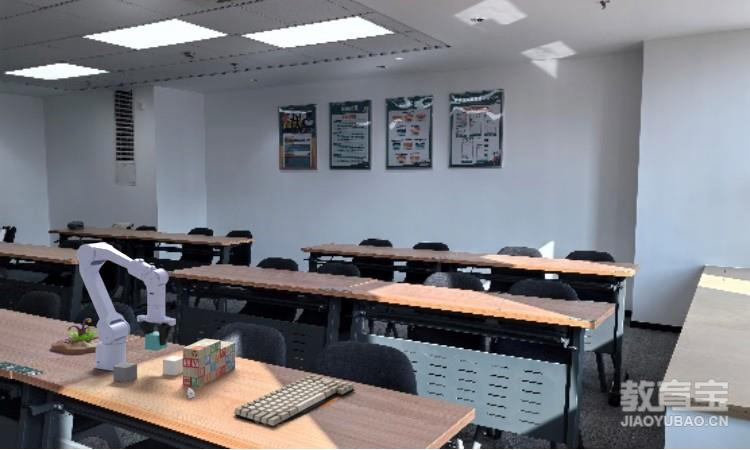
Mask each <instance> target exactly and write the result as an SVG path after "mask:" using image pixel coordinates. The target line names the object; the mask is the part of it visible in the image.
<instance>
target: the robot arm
mask: <svg viewBox="0 0 750 450" xmlns="http://www.w3.org/2000/svg"><path fill="white" fill-rule="evenodd" d="M75 257H76V259H77V262H78V265H79V266H78V267H79V270H78V271H79V274H80V277H81V279H82V281H83V283H84V286H85V288H86V290H87V292H88V294H89V297H90V300H91V301H92V304H93V307H94V309H95V311H96V313H97V315H98V318H99V319H98V321H97V323H96V328H97V336H98V337H99V339H100V341H101V342H99V343H98V344H97V346H96V352H95V365H94V366H93V369H99V370H105V371H113V372H114V366H115V365H118V364H121V363H123V362H127V356H126V354H127V352H126V351H127V350H126V348H127V345H126V344H127V343H126V342H127V338H128V336H129V335H130V333H131V326H130V324H129V323H128V322H127V321H126V320H125V318H124V316H123V315H122V314H121V313H118V312H117V311H116V308H115V307H114V304H113V302H112V300H111V298H110V295H109V293H108V290H107V288H106V286H105V283H104V281H103V279H102V277H101V275H100V272H99V271H100V269H101V267H102V266H103V265H104V264H105V262H106V261H107V260H109V261H111V263H114V264H117V265H118V266H121V267H124V268H126V269H127V272H128V274H129V275H132V276H133V277H135V278H136V279H139V280H141V281H143V284H144V285H145V286H146V292H147V294H146V295H147V296H146V297H147V299H146V300H147V303H146V304H147V306H146V307H147V308H146V309H147V314H146V315H145V314H140V315H137V316H136V321H137V322H139V323H140V322H141V323H140V324H139V327H140V329H141V331H142V333H143V335H144V336H145V335H146V334H149V333H152V332H154V330H155V324H159V325H157V327H156V328H157V332H159V337H160V346H162V345H165V344H166V341H167V342H168V336H169V334H170V332H171V330H172V329H173V326H175V325H177V322H176V321H177V320H176V318H172V317H169V316H166V284H167V283H168V281H169V279H170V276H169V273H168V271H167V270H166V269H164V268H162V267H161V268H160V267H159V268H156V266H155V265H150V264H149V263H147V262H145V260H144V259H143V258H135V259H132V258H130V257H129V256H127V255H126V254H124V253H122V252H121V251H119V250H117V249H116V248H114V247H113V245H110V244H108V243H107V242H104V241H103V242H102V241H101V242H97V243H84V244H82V245H80V246H79V248H78V249H77V252H76V254H75Z"/></svg>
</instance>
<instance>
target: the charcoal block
mask: <svg viewBox="0 0 750 450" xmlns="http://www.w3.org/2000/svg"><path fill="white" fill-rule="evenodd" d="M136 378H137V379H138V363H136V362H135V363H134V362H128V361H126V362H123V363H121V364H118V365H115V366H114V371H113V382H116V381H120V382H119V383H122V382H125V383H124V384H127V383H130V382H132V381H135V380H136ZM134 379H135V380H134ZM131 380H132V381H131ZM129 381H130V382H129ZM126 382H127V383H126Z"/></svg>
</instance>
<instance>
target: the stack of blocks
mask: <svg viewBox="0 0 750 450" xmlns="http://www.w3.org/2000/svg"><path fill="white" fill-rule="evenodd" d="M182 357H183V372H182V385H183V386H190V387H196V388H199V387H202V386H203V385H204V386H205V384H208V383H210V382H212V381H214V380H215V379H217V378H218V377H220V376H223V375H224V374H226V373H228V372H230V371H232V370H234V369H235V368H236V343H235V342H234V341H233V342H232V341H226V340H225V341H223V340H220V339H210V338H203V339H200V340H198V341H196V342H193V343H192V344H189V345H187V346H185V347H183V348H182Z"/></svg>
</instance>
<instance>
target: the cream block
mask: <svg viewBox="0 0 750 450" xmlns="http://www.w3.org/2000/svg"><path fill="white" fill-rule="evenodd" d="M162 374H163V375H167V374H168V376H173V375H176V376H178V375H180V374H183V356H177V355H171V356H168V357H166V358H164V359H162Z"/></svg>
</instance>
